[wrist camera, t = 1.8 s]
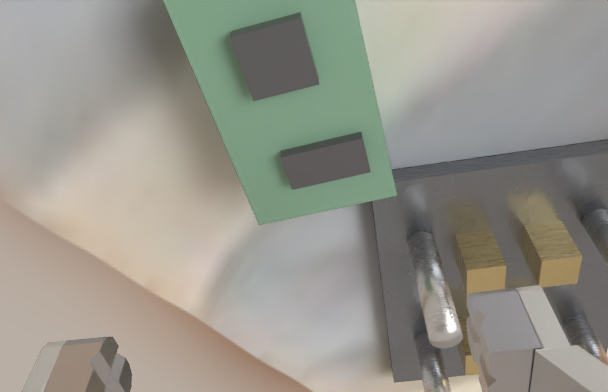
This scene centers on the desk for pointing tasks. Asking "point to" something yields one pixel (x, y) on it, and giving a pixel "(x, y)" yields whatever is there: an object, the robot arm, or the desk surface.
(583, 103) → the desk surface
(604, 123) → the desk surface
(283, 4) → the green rectangular block
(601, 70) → the desk surface
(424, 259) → the chassis
